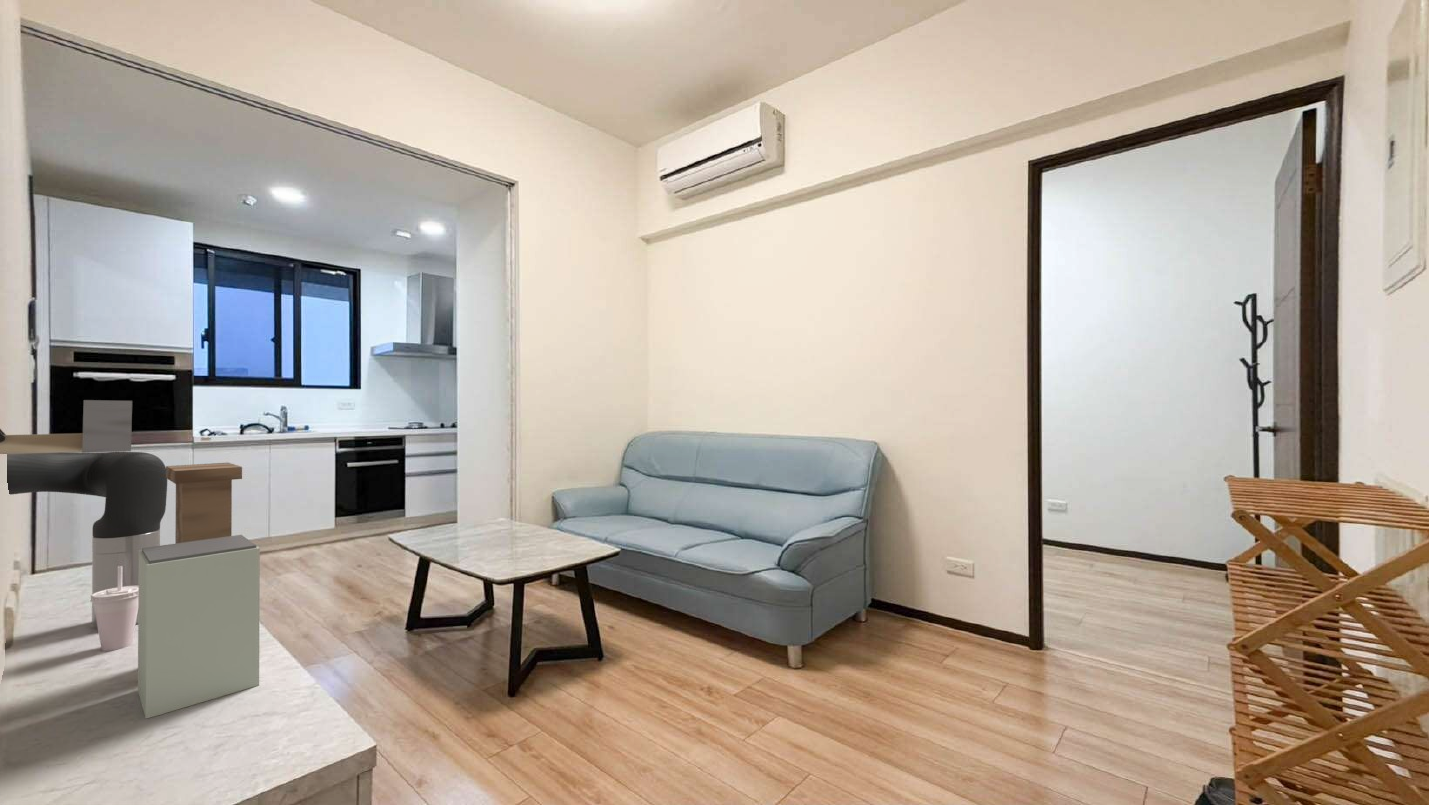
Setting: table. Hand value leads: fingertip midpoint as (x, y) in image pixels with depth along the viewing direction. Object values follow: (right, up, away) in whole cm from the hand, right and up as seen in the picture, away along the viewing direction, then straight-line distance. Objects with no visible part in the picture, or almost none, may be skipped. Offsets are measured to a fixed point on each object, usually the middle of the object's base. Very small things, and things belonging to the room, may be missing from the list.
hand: (0, 432), depth 72 cm
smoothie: (-13, -39, +27) cm, 49 cm away
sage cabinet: (+15, -39, +12) cm, 43 cm away
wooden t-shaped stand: (+6, -39, +22) cm, 45 cm away
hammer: (+1, -3, +2) cm, 4 cm away
